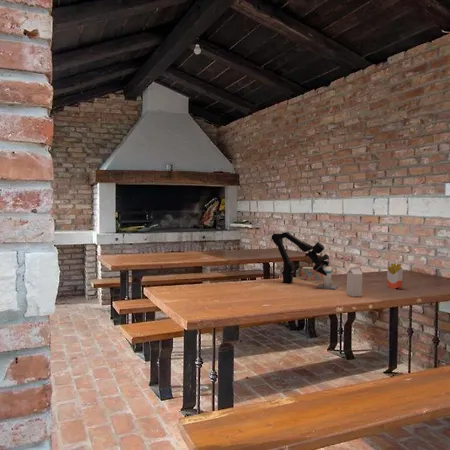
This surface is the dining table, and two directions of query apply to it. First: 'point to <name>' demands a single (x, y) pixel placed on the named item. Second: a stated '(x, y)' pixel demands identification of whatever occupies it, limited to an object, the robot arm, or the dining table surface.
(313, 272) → the stack of blocks
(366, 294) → the dining table surface
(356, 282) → the milk carton
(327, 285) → the banded post
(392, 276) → the french fries container
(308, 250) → the robot arm
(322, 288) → the slate tile
